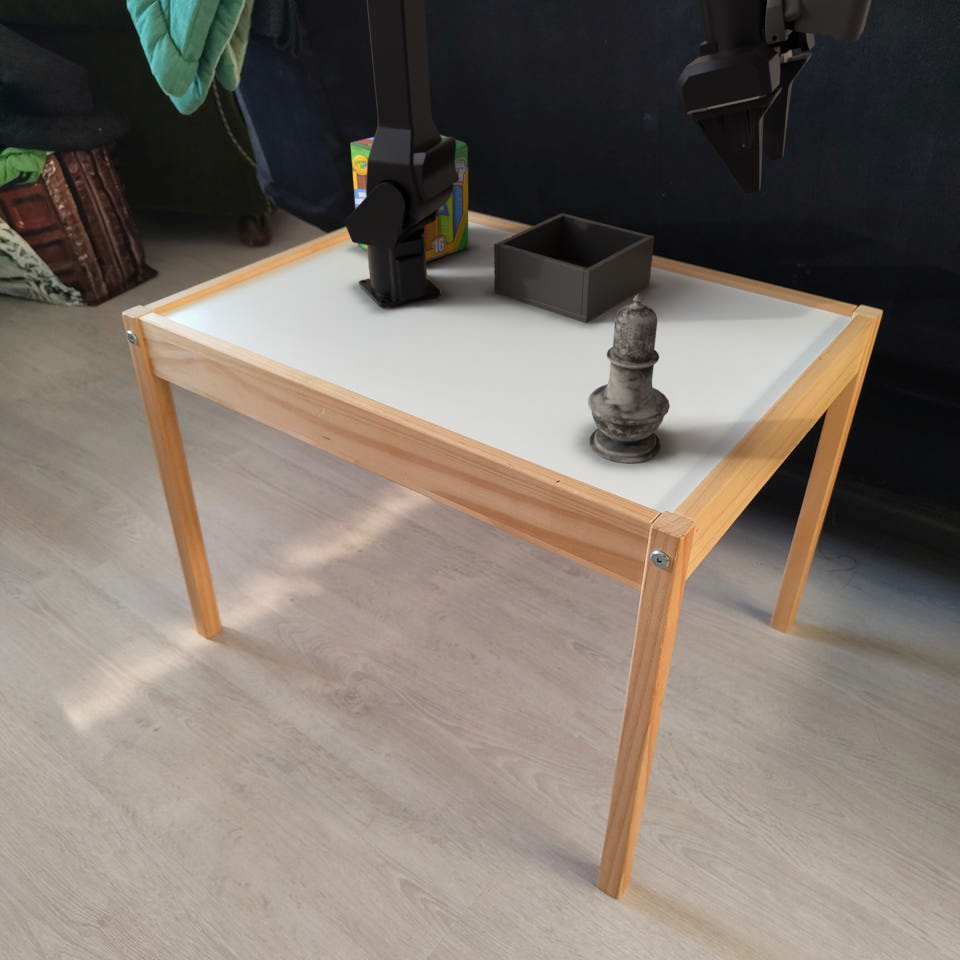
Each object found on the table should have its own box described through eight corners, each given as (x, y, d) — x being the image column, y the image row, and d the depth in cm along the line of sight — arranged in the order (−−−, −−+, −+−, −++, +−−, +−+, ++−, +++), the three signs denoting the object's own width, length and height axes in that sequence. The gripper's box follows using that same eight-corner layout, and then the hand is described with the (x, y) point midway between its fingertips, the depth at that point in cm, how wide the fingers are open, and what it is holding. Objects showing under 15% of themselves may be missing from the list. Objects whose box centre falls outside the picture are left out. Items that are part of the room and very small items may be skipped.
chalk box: (356, 248, 100) (342, 109, 92) (419, 228, 105) (412, 94, 97) (408, 271, 95) (398, 125, 86) (472, 248, 100) (469, 108, 91)
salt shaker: (663, 469, 64) (682, 315, 57) (581, 461, 65) (590, 309, 58) (665, 426, 69) (683, 279, 62) (589, 419, 70) (598, 273, 63)
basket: (494, 293, 90) (493, 243, 87) (560, 259, 97) (561, 212, 94) (586, 323, 84) (589, 271, 81) (649, 285, 91) (654, 236, 88)
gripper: (841, -76, 51) (862, 194, 58) (876, -96, 65) (890, 125, 72) (655, -21, 57) (695, 220, 64) (723, -50, 71) (749, 151, 78)
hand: (764, 175), depth 69 cm, fingers open, 9 cm apart
